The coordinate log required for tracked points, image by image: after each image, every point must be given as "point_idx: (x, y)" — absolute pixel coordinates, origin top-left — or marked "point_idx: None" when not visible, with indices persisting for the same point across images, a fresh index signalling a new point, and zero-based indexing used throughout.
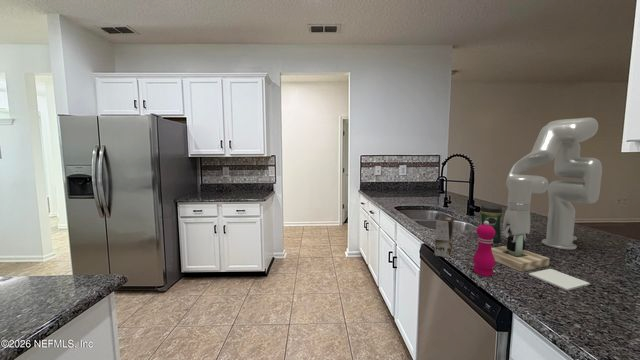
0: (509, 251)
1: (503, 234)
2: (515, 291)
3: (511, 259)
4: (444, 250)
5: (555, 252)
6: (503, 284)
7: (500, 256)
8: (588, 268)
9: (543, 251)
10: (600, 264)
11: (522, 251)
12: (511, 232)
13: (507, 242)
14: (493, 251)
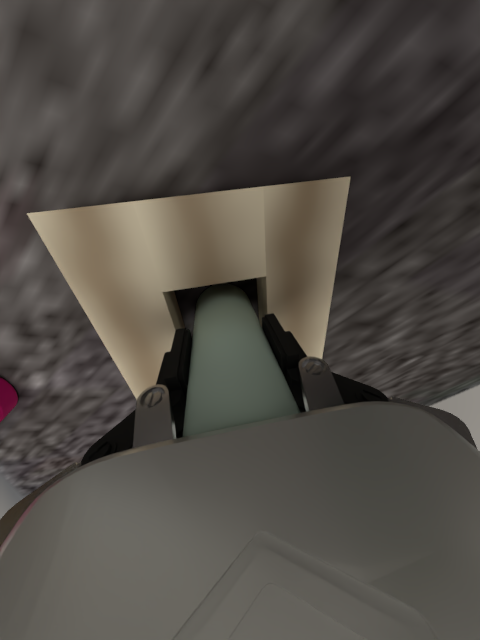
0: (194, 324)
1: (5, 526)
2: (45, 469)
3: (138, 384)
4: None
5: None
6: (26, 448)
7: (106, 343)
8: (385, 382)
9: (476, 234)
10: (449, 365)
11: (297, 306)
12: (240, 422)
13: (167, 364)
14: (102, 275)
